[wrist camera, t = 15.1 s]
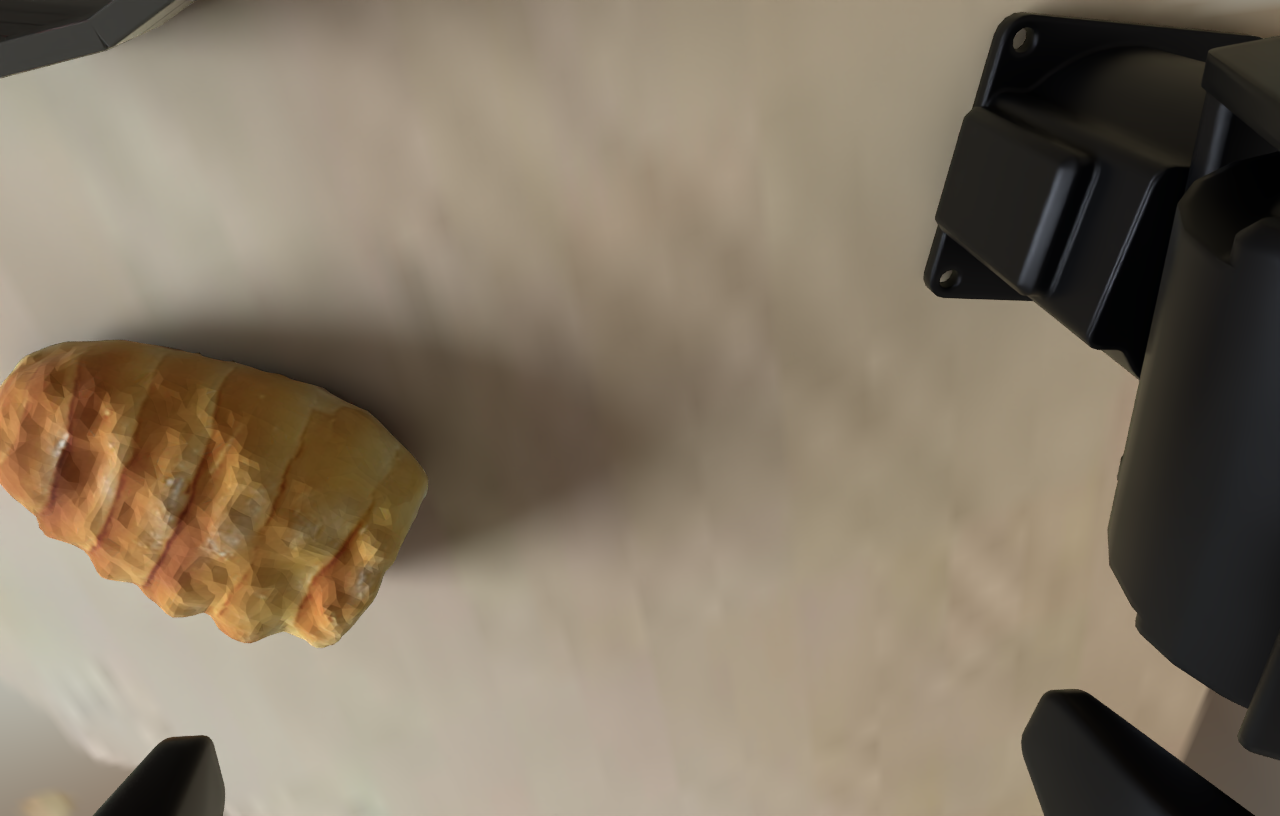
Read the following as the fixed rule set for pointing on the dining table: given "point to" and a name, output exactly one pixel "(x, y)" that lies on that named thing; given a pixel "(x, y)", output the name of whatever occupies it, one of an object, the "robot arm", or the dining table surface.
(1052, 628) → the dining table surface
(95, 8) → the pan
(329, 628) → the pastry
